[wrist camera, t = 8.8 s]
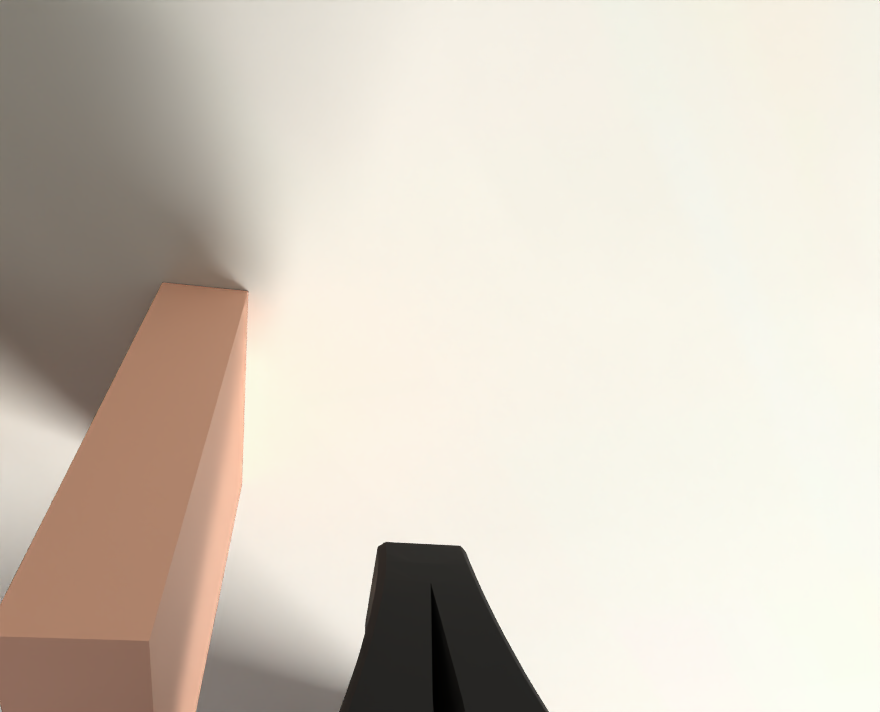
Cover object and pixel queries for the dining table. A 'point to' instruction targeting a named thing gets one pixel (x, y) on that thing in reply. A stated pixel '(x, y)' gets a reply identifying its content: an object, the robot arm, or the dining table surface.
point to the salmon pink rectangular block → (138, 525)
